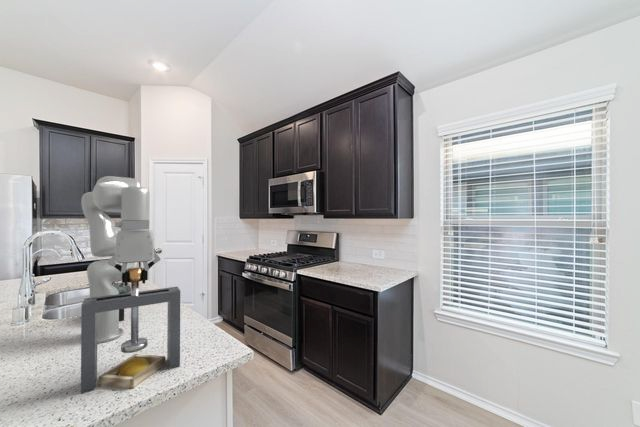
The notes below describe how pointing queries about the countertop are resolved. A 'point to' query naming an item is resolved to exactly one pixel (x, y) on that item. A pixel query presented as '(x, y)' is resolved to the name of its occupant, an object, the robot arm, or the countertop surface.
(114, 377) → the cradle
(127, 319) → the countertop surface
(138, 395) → the countertop surface
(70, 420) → the countertop surface
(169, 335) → the frame
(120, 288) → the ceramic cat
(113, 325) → the robot arm
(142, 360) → the bread roll
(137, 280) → the plunger
